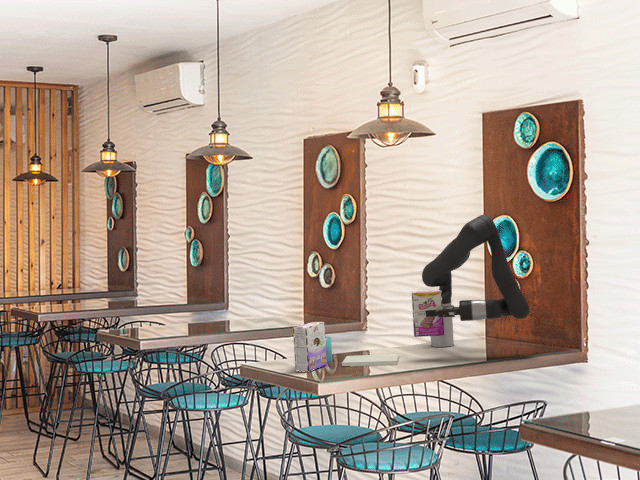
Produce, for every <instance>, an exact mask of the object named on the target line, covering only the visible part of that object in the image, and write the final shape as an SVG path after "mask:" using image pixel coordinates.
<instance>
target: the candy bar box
mask: <svg viewBox="0 0 640 480" xmlns="http://www.w3.org/2000/svg"><path fill="white" fill-rule="evenodd" d="M411 303H412V304H411V306H412V324H413V336H414V337H415V338H417V337H422V338H423V337H430V336H443V335H444V321H443V317H437V316H431V317H427V316H426V311H427V310H437V309H438V310H439V309H442V308H443V303H442V291H441V290H439V289H436V290H419V291H418V290H417V291H411ZM441 314H442V312H441Z"/></svg>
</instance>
